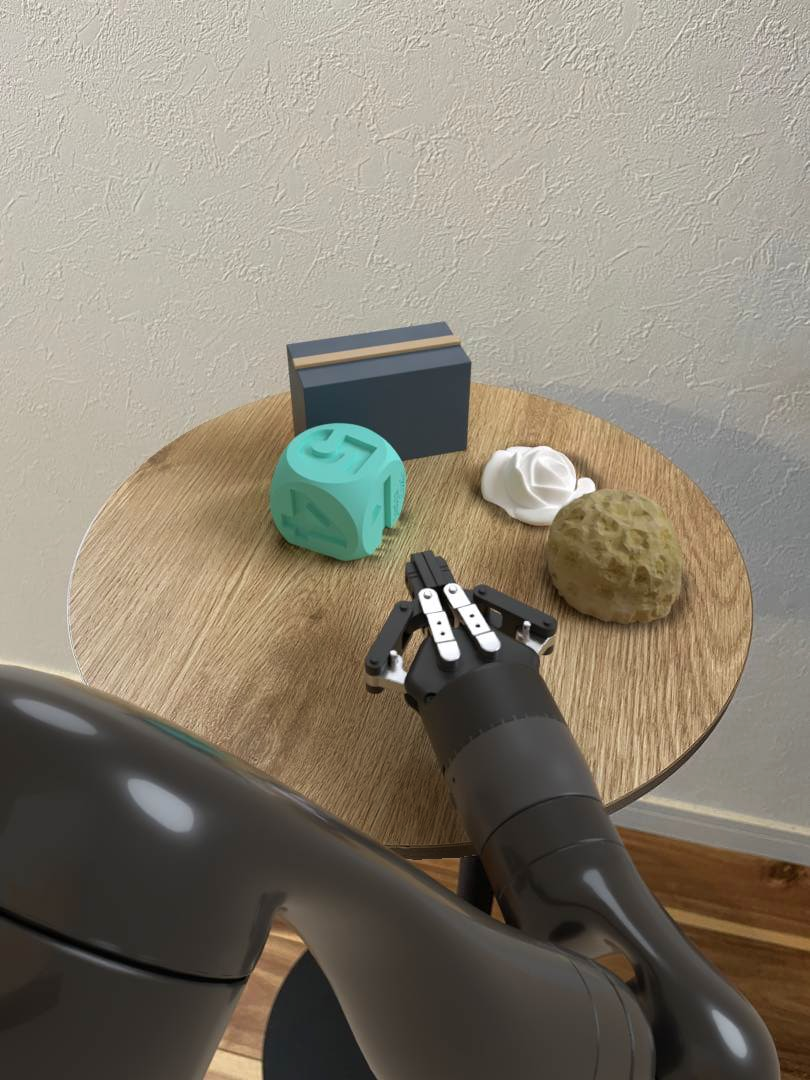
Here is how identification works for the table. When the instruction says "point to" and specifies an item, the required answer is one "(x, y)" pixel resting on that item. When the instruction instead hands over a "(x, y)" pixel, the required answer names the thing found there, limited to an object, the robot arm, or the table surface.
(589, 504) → the rock
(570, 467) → the rose
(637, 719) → the table surface
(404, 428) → the box
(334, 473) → the decorative dice
